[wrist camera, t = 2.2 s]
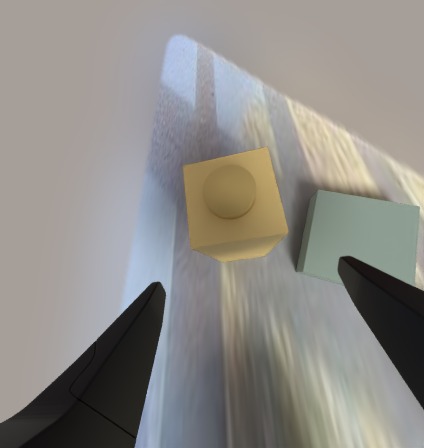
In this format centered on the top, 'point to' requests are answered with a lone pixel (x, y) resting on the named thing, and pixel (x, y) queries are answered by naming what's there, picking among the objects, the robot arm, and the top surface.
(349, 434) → the top surface
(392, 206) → the plinth brick
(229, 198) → the tower brick
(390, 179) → the top surface
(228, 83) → the top surface
